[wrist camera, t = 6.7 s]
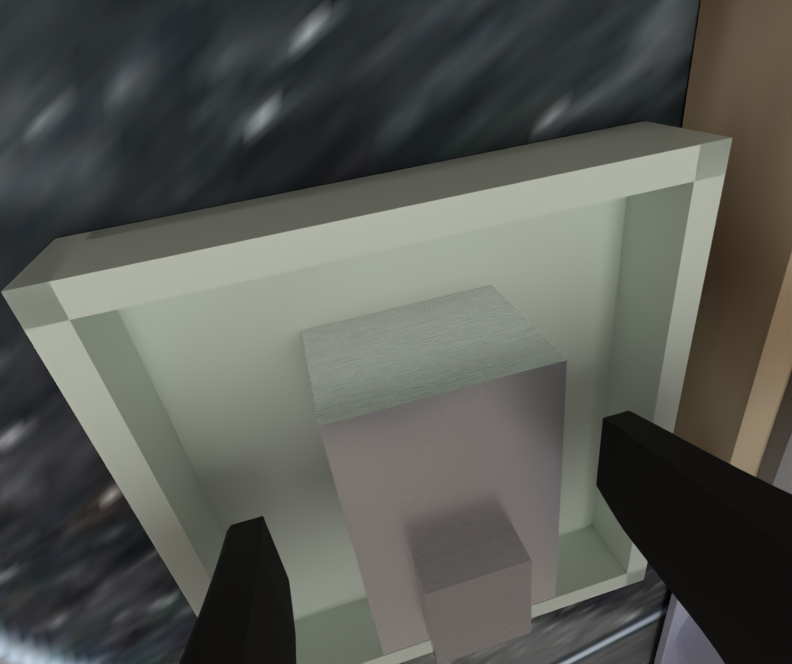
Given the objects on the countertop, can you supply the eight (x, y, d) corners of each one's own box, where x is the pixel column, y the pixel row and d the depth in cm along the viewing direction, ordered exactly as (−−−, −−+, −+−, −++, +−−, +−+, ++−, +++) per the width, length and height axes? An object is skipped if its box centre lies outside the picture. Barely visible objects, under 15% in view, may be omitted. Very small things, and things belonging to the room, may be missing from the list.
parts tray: (599, 519, 16) (643, 579, 15) (254, 629, 15) (255, 712, 13) (644, 120, 10) (732, 137, 8) (55, 238, 9) (0, 291, 7)
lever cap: (500, 496, 14) (574, 631, 11) (358, 539, 13) (392, 695, 10) (491, 284, 11) (596, 388, 7) (301, 330, 10) (324, 464, 7)
